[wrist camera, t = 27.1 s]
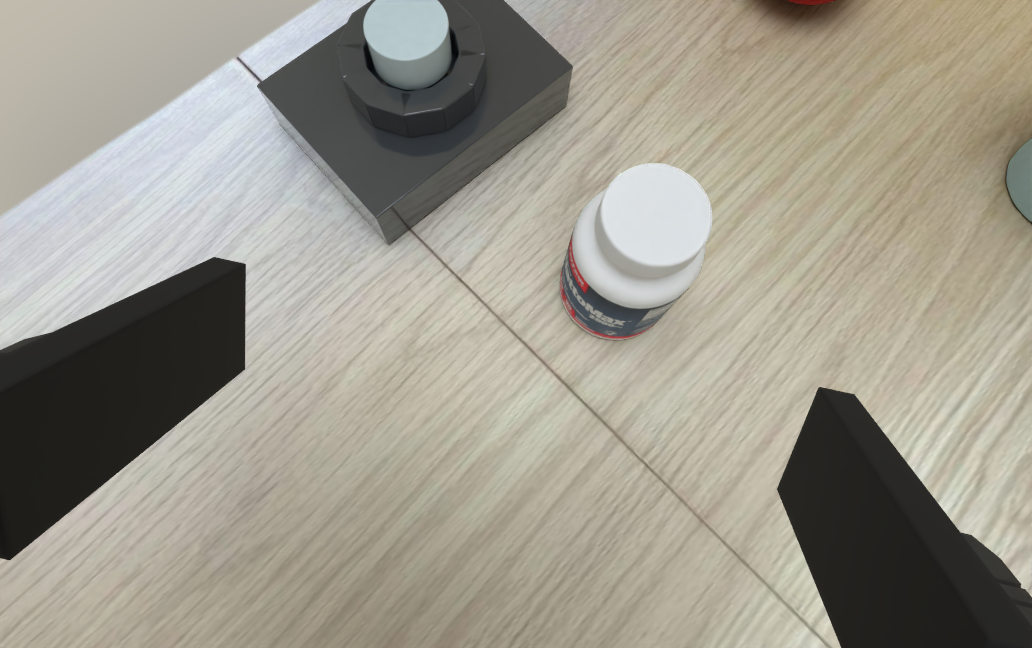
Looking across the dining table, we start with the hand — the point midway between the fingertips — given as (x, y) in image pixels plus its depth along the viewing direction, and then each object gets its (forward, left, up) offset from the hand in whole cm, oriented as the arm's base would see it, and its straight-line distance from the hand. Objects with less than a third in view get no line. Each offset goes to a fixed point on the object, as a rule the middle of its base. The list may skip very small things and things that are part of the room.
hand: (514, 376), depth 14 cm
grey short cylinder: (-5, +16, -10) cm, 20 cm away
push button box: (-5, +16, -15) cm, 23 cm away
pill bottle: (+5, +7, -15) cm, 17 cm away
